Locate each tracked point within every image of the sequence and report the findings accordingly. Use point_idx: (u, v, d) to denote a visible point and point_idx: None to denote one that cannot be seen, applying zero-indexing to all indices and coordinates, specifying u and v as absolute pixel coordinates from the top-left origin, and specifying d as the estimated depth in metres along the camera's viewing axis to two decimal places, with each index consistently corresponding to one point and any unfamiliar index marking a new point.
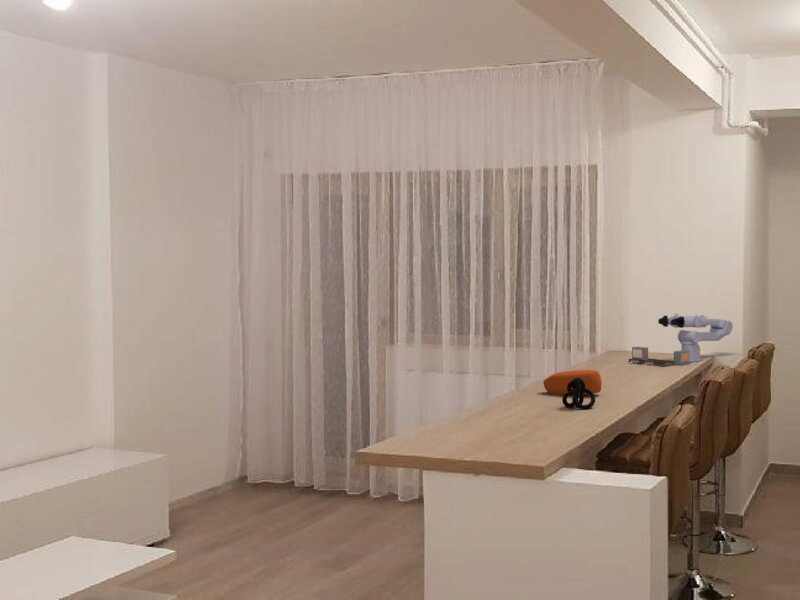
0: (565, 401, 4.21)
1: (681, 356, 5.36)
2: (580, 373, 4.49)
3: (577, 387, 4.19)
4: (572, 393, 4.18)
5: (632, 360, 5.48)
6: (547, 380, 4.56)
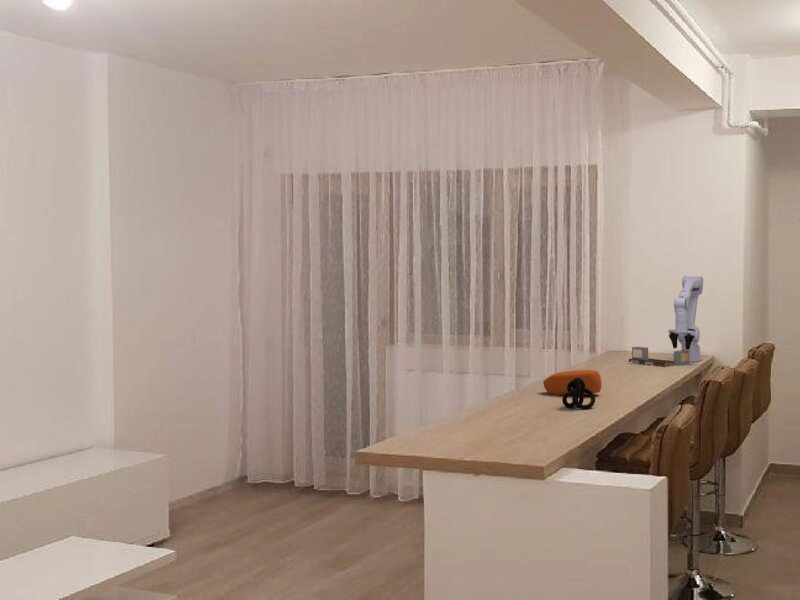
0: (565, 401, 4.21)
1: (681, 356, 5.36)
2: (580, 373, 4.49)
3: (577, 387, 4.19)
4: (572, 393, 4.18)
5: (632, 360, 5.48)
6: (547, 380, 4.56)
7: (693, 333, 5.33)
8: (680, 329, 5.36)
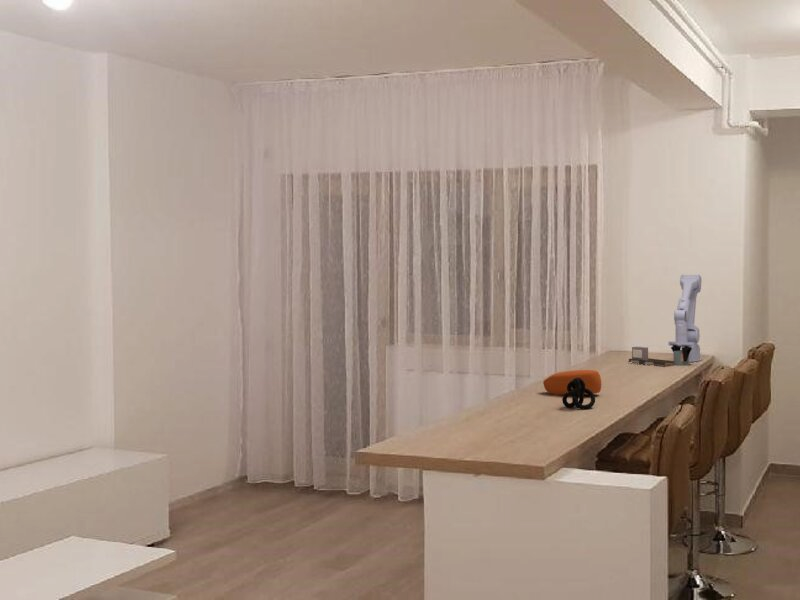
0: (565, 401, 4.21)
1: (680, 355, 5.36)
2: (580, 373, 4.49)
3: (577, 387, 4.19)
4: (572, 393, 4.18)
5: (632, 360, 5.48)
6: (547, 380, 4.56)
7: (693, 345, 5.33)
8: (680, 341, 5.36)
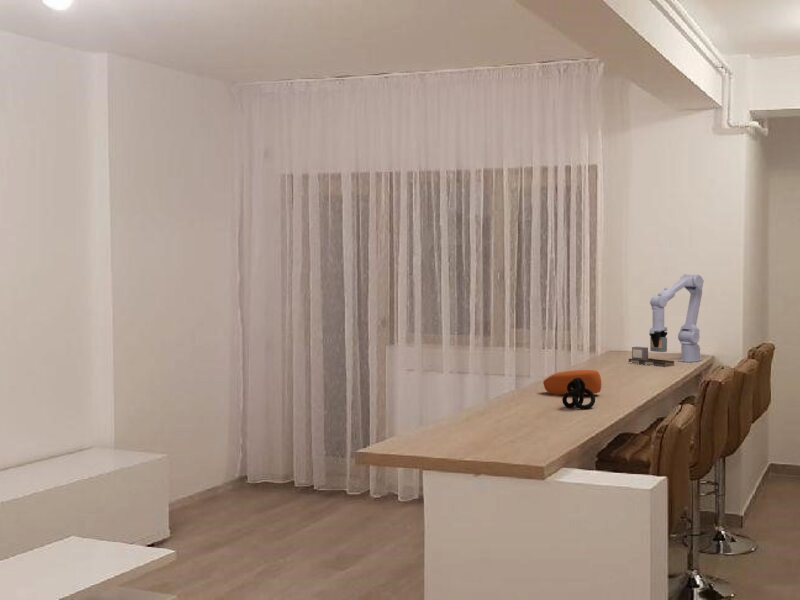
0: (565, 401, 4.21)
1: (651, 341, 5.41)
2: (580, 373, 4.49)
3: (577, 387, 4.19)
4: (572, 393, 4.18)
5: (632, 360, 5.48)
6: (547, 380, 4.56)
7: (651, 331, 5.35)
8: None
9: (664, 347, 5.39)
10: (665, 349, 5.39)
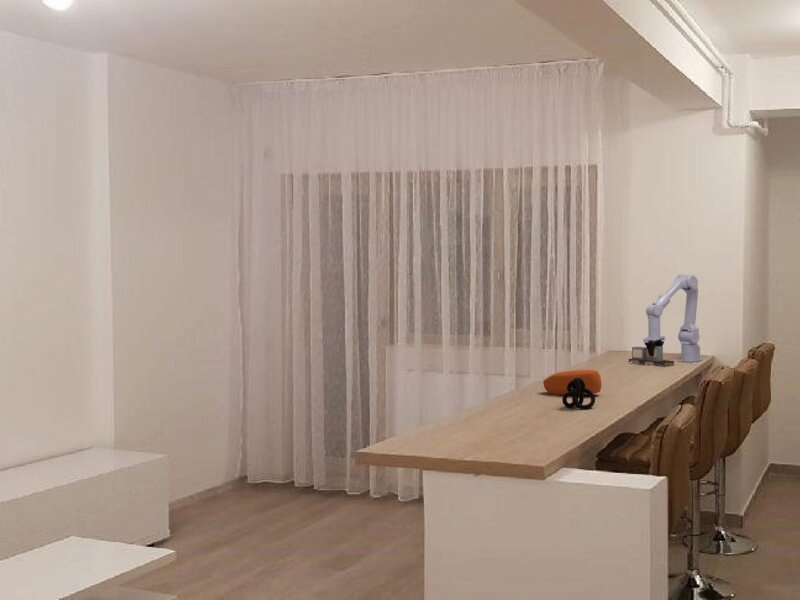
0: (565, 401, 4.21)
1: (647, 350, 5.43)
2: (579, 373, 4.49)
3: (577, 387, 4.19)
4: (572, 393, 4.18)
5: (632, 360, 5.48)
6: (547, 380, 4.56)
7: (644, 340, 5.37)
8: None
9: (660, 356, 5.39)
10: (660, 358, 5.40)
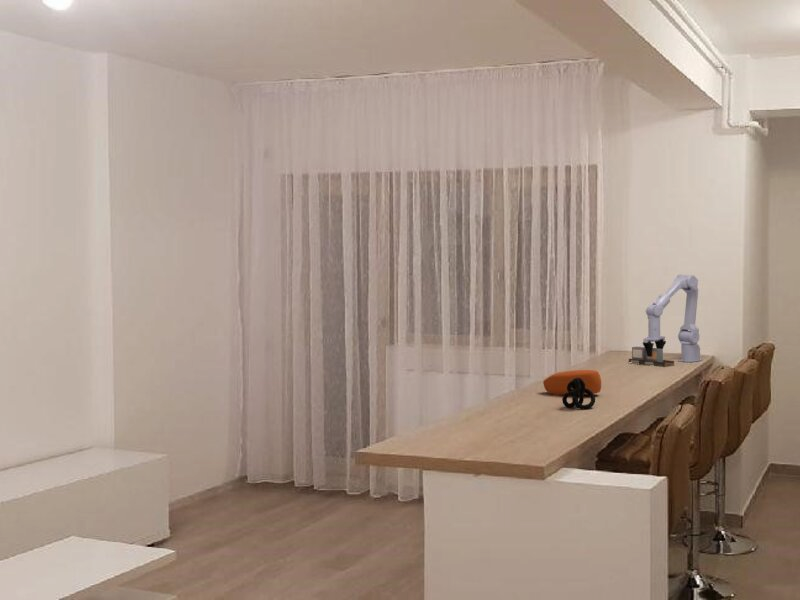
0: (565, 401, 4.21)
1: None
2: (579, 373, 4.49)
3: (577, 387, 4.19)
4: (572, 393, 4.18)
5: (632, 360, 5.48)
6: (547, 380, 4.56)
7: (644, 340, 5.37)
8: None
9: (660, 359, 5.39)
10: (660, 360, 5.40)
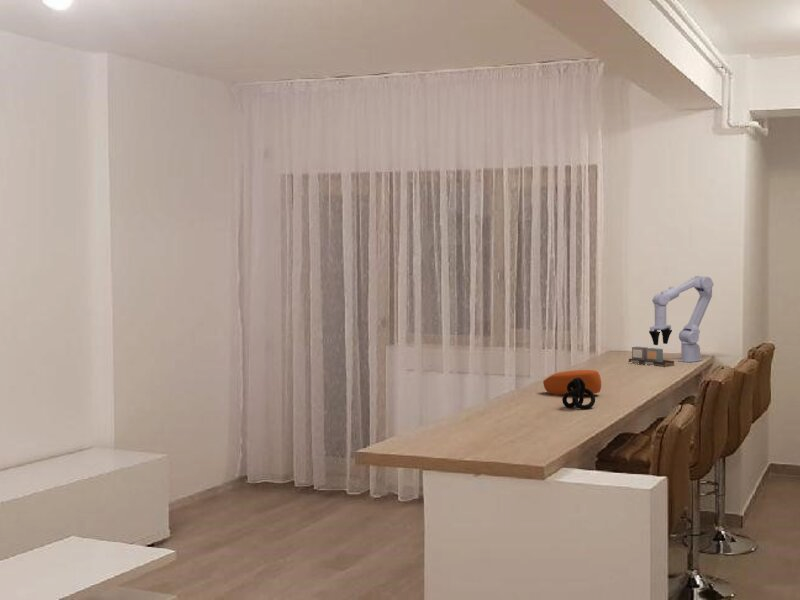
0: (565, 401, 4.21)
1: (647, 352, 5.43)
2: (579, 373, 4.49)
3: (577, 387, 4.19)
4: (572, 393, 4.18)
5: (632, 360, 5.48)
6: (547, 380, 4.56)
7: (651, 329, 5.43)
8: None
9: (660, 359, 5.39)
10: (660, 360, 5.40)
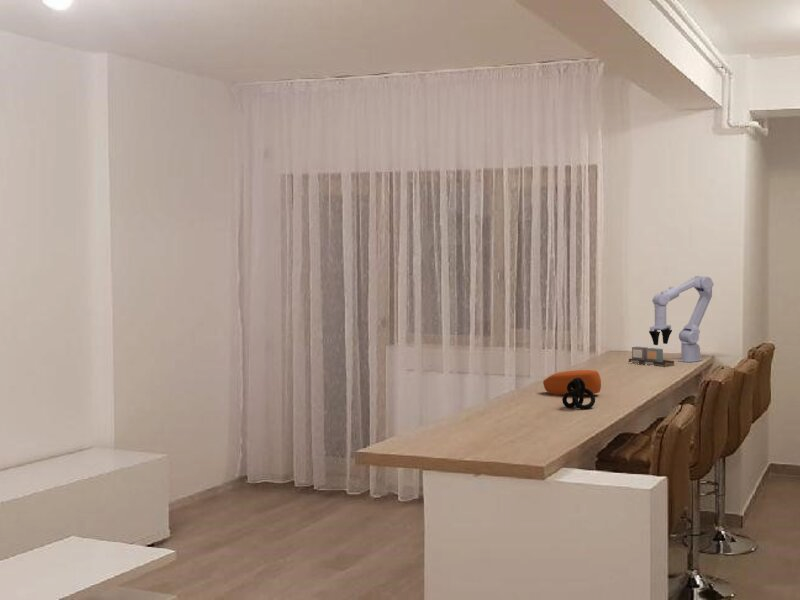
0: (565, 401, 4.21)
1: (647, 352, 5.43)
2: (579, 373, 4.48)
3: (577, 387, 4.19)
4: (572, 393, 4.18)
5: (632, 360, 5.48)
6: (547, 380, 4.56)
7: (651, 329, 5.43)
8: None
9: (660, 359, 5.39)
10: (660, 360, 5.40)
